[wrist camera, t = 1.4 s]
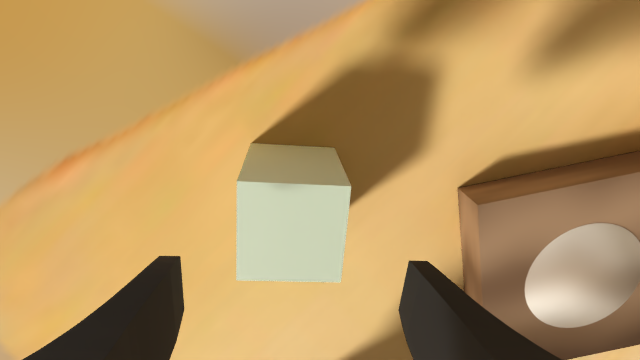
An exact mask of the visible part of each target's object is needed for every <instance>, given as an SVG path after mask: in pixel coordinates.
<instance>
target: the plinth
mask: <svg viewBox="0 0 640 360" xmlns="http://www.w3.org/2000/svg"><path fill="white" fill-rule="evenodd" d="M458 200H459V215H460V230H461V245H462V261H463V276H464V291H465V293H466V294H467V295H469V296H470V297H471V298H472V299H473V300H475V301H476V302H477V303H478V304H480V305H481V306H482V307H484V308H485V309H486V310H487V311H489V312H490V313H491V314H493V315H494V316H495V317H497V318H498V319H499V320H501V321H502V322H504V323H505V324H506V325H508V326H509V327H511V328H512V329H513V330H515V331H516V332H518V333H519V334H521V335H522V336H524V337H526V338H527V339H529V340H530V341H532V342H533V343H535V344H536V345H538V346H540V347H541V348H543V349H545V350H546V351H548V352H550V353H551V354H553V355H555V356H556V357H558V358H560V359H562V360H568V359H573V358H577V357H582V356H587V355H592V354H596V353H601V352H606V351H611V350H615V349H620V348H625V347H630V346H635V345H639V344H640V151H636V152H631V153H626V154H622V155H617V156H612V157H607V158H602V159H597V160H592V161H587V162H583V163H578V164H573V165H568V166H563V167H558V168H553V169H548V170H543V171H539V172H534V173H529V174H524V175H519V176H514V177H509V178H504V179H500V180H495V181H490V182H485V183H480V184H475V185H470V186H465V187H461V188H458Z"/></svg>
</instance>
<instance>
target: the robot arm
mask: <svg viewBox="0 0 640 360" xmlns="http://www.w3.org/2000/svg"><path fill="white" fill-rule="evenodd" d="M183 312H184V300H183V287H182V273H181V260H180V256H159V257H158V258H157V259H155V260H154V261H153V262H152V263H151V264H150V265H148V266H147V267H146V268H145V269H144V270H143V271H142V272H141V273H139V274H138V275H137V276H136V277H135V278H134V279H133V280H132V281H130V282H129V283H128V284H127V285H126V286H125V287H124V288H122V289H121V290H120V291H119V292H118V293H116V294H115V295H114V296H113V297H112V298H111V299H109V300H108V301H107V302H106V303H104V304H103V305H102V306H101V307H99V308H98V309H97V310H95V311H94V312H93V313H92V314H90V315H89V316H88V317H86V318H85V319H84V320H83V321H81V322H80V323H78V324H77V325H76V326H74V327H73V328H71V329H70V330H68V331H67V332H66V333H64V334H63V335H61V336H60V337H58V338H57V339H55V340H54V341H52V342H50V343H49V344H47V345H46V346H44V347H43V348H41V349H40V350H38V351H36V352H35V353H33V354H31V355H29V356H28V357H26V358H24V359H23V360H169V359H170V357H171V354H172V351H173V349H174V346H175V343H176V341H177V337H178V333H179V329H180V325H181V321H182V316H183ZM399 314H400V318H401V322H402V327H403V331H404V334H405V338H406V341H407V344H408V347H409V349H410V352H411V355H412V357H413V360H562V359H560V358H558V357H556V356H555V355H553V354H551V353H550V352H548V351H546V350H545V349H543V348H541V347H540V346H538V345H536V344H535V343H533V342H532V341H530V340H529V339H527V338H526V337H524V336H522V335H521V334H519V333H518V332H516V331H515V330H513V329H512V328H511V327H509V326H508V325H506V324H505V323H504V322H502V321H501V320H499V319H498V318H497V317H495V316H494V315H493V314H491V313H490V312H489V311H487V310H486V309H485V308H484V307H482V306H481V305H480V304H478V303H477V302H476V301H475V300H473V299H472V298H471V297H470V296H469V295H467V294H466V293H465V292H464V291H463V290H461V289H460V288H459V287H458V286H457V285H455V284H454V283H453V282H452V281H451V280H450V279H448V278H447V277H446V276H445V275H444V274H442V273H441V272H440V271H439V270H438V269H437V268H435V267H434V266H433V265H432V264H430V263H429V262H428V261H409V263H408V268H407V273H406V277H405V282H404V287H403V292H402V296H401V301H400V306H399Z"/></svg>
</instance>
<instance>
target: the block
mask: <svg viewBox="0 0 640 360" xmlns="http://www.w3.org/2000/svg"><path fill="white" fill-rule="evenodd" d="M350 195H351V184H350V182H349V180H348V177H347V175H346V173H345V171H344V168H343V166H342V164H341V161H340V159H339V157H338V155H337V152H336V150H335V148H332V147H314V146H296V145H277V144H259V143H251V144H250V147H249V150H248V153H247V155H246V158H245V161H244V163H243V166H242V169H241V171H240V174H239V177H238V179H237V276H236V280H244V281H296V282H341V276H342V267H343V258H344V249H345V240H346V231H347V222H348V213H349V204H350Z"/></svg>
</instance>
